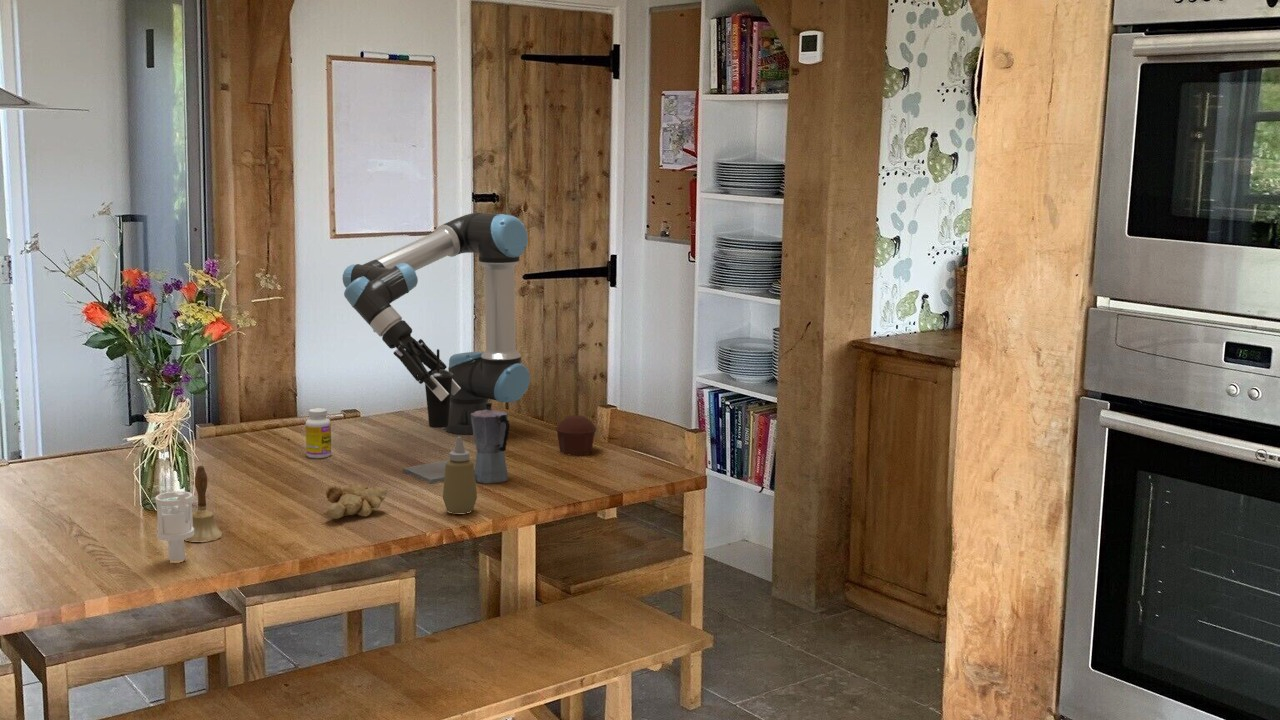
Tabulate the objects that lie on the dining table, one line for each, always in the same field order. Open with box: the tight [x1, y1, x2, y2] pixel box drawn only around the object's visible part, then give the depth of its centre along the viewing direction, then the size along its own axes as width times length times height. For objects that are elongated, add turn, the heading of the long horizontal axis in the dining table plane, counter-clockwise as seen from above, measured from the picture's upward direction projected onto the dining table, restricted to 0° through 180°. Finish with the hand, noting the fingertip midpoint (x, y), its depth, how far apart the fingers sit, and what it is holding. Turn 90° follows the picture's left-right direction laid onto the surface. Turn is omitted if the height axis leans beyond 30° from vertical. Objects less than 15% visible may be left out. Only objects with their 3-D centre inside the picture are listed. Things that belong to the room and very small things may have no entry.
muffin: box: [555, 414, 597, 456], centre depth 350 cm, size 12×11×10 cm
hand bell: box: [186, 465, 223, 541], centre depth 271 cm, size 8×8×16 cm
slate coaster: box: [402, 459, 475, 484], centre depth 326 cm, size 14×14×1 cm
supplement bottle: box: [305, 407, 332, 459], centre depth 340 cm, size 7×7×13 cm
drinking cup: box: [424, 348, 453, 429], centre depth 322 cm, size 8×8×20 cm
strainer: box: [154, 490, 194, 561], centre depth 256 cm, size 7×7×15 cm
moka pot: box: [471, 402, 510, 484], centre depth 318 cm, size 10×15×20 cm, turn 45°
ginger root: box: [323, 483, 388, 520], centre depth 291 cm, size 16×16×8 cm
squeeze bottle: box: [442, 436, 478, 513], centre depth 292 cm, size 8×8×18 cm
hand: (451, 394), depth 321 cm, fingers closed on drinking cup, 7 cm apart
